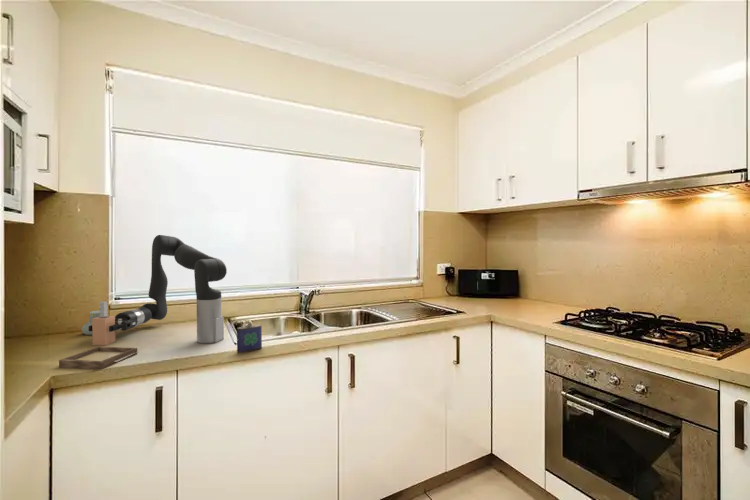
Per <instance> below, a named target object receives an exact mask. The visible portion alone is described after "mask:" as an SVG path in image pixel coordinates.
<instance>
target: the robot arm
mask: <svg viewBox="0 0 750 500" xmlns="http://www.w3.org/2000/svg"><path fill="white" fill-rule="evenodd" d="M162 256H169V257H174V260H175V262H176V263H177V264H178V265H180V266H182V267H183V268H184V269H187V270H191V271H194V274H193V275H194V287H195V288H194V289H195V294H196V295H195V296H196V342H197V343H198V344H212V343H213V344H214V343H215V344H216V343H218V342H220V341H222V340H223V339H225V328H224V327H225V326H224V325H225V323H224V321H225V318H224V317H225V316H224V315H222V291H221V290H219V289H215V288H212V287H210V285H209V283H210V282H211V283H212V282H219V281H222V280H223V279H224V278H225V277H226V275H227V271H228V270H227V266H226V264H225V262H224V261H223V260H222V259H220V258H217V257H214V256H210V255H208V254H205V253H204V252H202V251H201V250H198V249H196V248H195V247H193V246H190V245H188V244H185V243H184V241H182V240H181V239H179V237H176V236H170V235H163V234H158V235H156V236H155V237H154V238H153V241H152V244H151V277H150V283H149V284H150V285H149V288H148V289H149V290H148V297H149V299H152V300H154V301H155V303H151V302H150V303H148V302H147V303H145V304H142V305H141V306H140V307H139V308H135V309H130V310H126V311H122V312H118V314H116V315H114V316H115V324H114V325H111V326H109V332H112V331H115V332H116V331H118V330H119V331H128V330H131V329H133V328H135V327H138V326H141V325H142V324H145V323H147V322H149V321H150V320H156V321H161V320H164V319H165V318H166V316H167V314H168V306H167V304H168V303H167V298H166V297H167V289H168V282H169V281H168V277H167V274H166V272H165V270H164V267H163V265H162ZM89 331H92V325H90V326H89Z"/></svg>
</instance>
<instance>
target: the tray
mask: <svg viewBox="0 0 750 500" xmlns="http://www.w3.org/2000/svg"><path fill="white" fill-rule="evenodd" d="M98 352H110V353H113V352H116V353H119V354H116V355H113V356H110V357H107V358H105V359H103V360H85V359H81V358H83V357H87V356H90V355H93V354H94V353H98ZM137 355H138V347H123V346H121V347H120V346H118V347H117V346H99V345H98V346H95V347H93V348H91V349H87V350H85V351H82V352H79V353H76V354H73V355H69V356H67V357H65V358H61V359H59V360H58V368H65V369H66V368H67V369H82V370H83V369H84V370H85V369H87V370H103V369H106V368H109V367H111V366H113V365H115V364H118V363H120V362H122V361H125V360H127V359H129V358H133V357H134V356H137Z"/></svg>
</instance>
